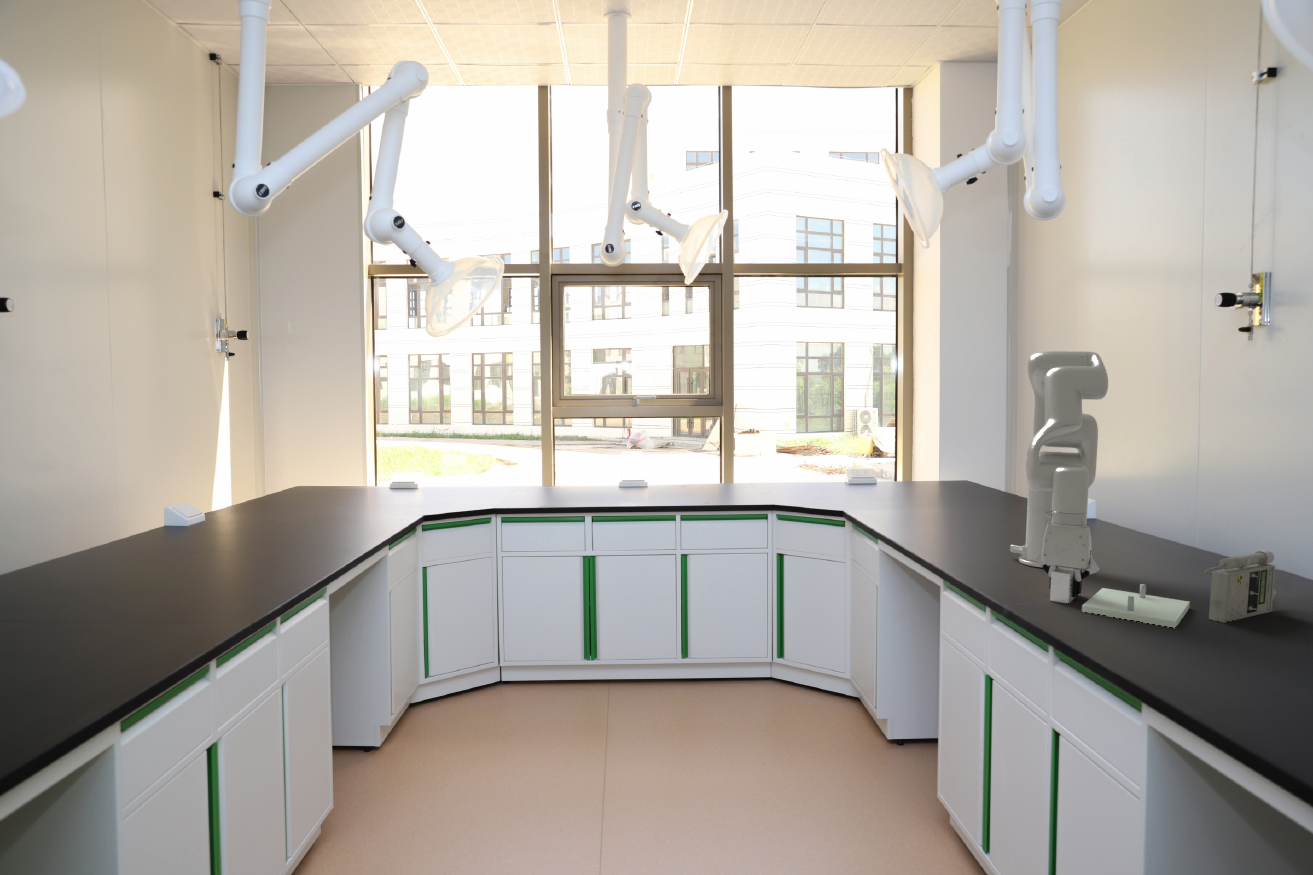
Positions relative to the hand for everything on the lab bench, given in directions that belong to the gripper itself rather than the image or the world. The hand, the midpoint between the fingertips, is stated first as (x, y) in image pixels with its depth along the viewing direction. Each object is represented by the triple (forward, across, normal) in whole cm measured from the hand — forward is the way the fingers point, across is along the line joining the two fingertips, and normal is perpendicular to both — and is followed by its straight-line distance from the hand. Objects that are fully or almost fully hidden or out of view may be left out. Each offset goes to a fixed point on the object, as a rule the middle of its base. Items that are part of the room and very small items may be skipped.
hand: (1065, 593), depth 197 cm
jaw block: (+1, 0, 0) cm, 1 cm away
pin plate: (+1, +15, 0) cm, 15 cm away
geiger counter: (+1, +34, +14) cm, 37 cm away
